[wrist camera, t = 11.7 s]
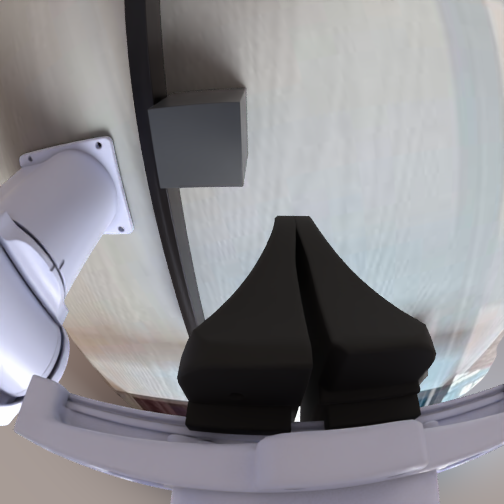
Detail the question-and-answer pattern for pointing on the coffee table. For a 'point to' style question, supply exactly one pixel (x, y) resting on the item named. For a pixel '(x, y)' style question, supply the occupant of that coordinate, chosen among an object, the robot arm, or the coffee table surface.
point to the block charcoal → (200, 138)
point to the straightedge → (163, 199)
